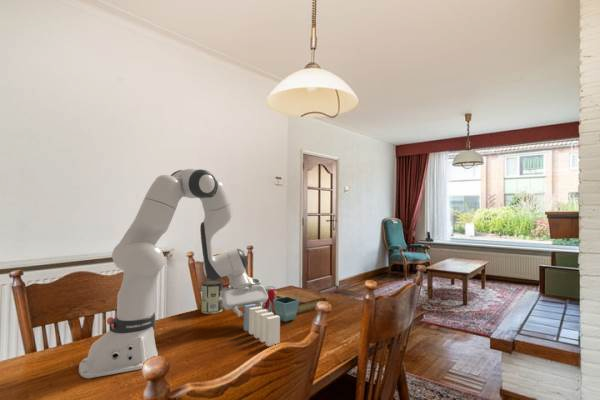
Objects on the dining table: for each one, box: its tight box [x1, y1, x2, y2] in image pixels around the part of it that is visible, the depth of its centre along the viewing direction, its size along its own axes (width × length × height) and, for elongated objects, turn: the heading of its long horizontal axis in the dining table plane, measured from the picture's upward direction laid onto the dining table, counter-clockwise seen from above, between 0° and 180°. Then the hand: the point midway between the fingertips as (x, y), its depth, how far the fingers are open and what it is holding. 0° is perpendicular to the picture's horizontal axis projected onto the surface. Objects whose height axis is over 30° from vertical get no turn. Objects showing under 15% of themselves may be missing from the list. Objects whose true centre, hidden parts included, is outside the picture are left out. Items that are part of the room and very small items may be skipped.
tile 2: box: [253, 309, 268, 339], centre depth 128 cm, size 5×2×10 cm, turn 126°
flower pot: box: [273, 297, 299, 323], centre depth 148 cm, size 9×9×9 cm
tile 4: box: [265, 314, 281, 347], centre depth 121 cm, size 5×2×10 cm, turn 126°
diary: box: [277, 288, 327, 315], centre depth 170 cm, size 23×19×6 cm
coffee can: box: [201, 279, 224, 315], centre depth 159 cm, size 10×10×14 cm
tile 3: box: [259, 312, 275, 343], centre depth 124 cm, size 5×2×10 cm, turn 126°
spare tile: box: [243, 304, 258, 332], centre depth 135 cm, size 5×2×10 cm, turn 126°
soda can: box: [262, 285, 278, 313], centre depth 158 cm, size 7×7×12 cm
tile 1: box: [248, 306, 262, 336], centre depth 132 cm, size 5×2×10 cm, turn 126°
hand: (251, 314), depth 135 cm, fingers open, 8 cm apart
